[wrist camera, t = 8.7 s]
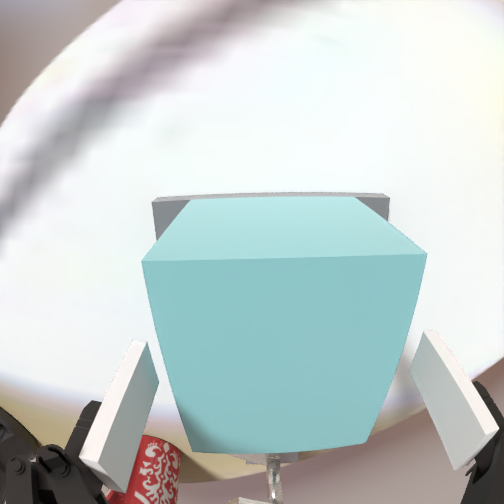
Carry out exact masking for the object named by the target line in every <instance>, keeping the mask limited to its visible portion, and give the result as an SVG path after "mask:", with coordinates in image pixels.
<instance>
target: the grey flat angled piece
mask: <svg viewBox="0 0 504 504" xmlns="http://www.w3.org/2000/svg"><path fill="white" fill-rule="evenodd" d="M228 455H231V456H234V457H237V458H240V459H244V460H247V461H251V462H254V463H258V464H262V465H265V466H267V492H268V503H266V502H260V501H255V500H249V499H245V498H240V497H238V498H236V499H233V500H231V501H229V502H228V504H283V502H282V486H281V470H280V453H265V454H228Z"/></svg>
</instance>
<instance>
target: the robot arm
mask: <svg viewBox="0 0 504 504" xmlns="http://www.w3.org/2000/svg"><path fill="white" fill-rule="evenodd" d="M409 373H410V375H411V377H412V379H413V381H414V383H415V385H416V387H417V389H418V391H419V393H420V395H421V397H422V399H423V401H424V403H425V405H426V407H427V409H428V411H429V414H430V416H431V418H432V420H433V422H434V424H435V426H436V429H437V431H438V433H439V435H440V438H441V440H442V442H443V445H444V447H445V449H446V452H447V454H448V457H449V459H450V461H451V464H452V466H453V469H454V470H457V469H459V468H462V467H464V466H467V465H468V464H469V463H470V462H471V461H472V460H473V459H474V458H475V460H476V463H475V464H474V465H473V466H472V467H471V468H470V470H469V471H467V473H466V476H467V475H469V473H471V472H472V473H471V476H470V480H469V482H468V485H467V488H466V491H465V493H464V496H463V499H462V501H461V504H504V418H503V416H502V414H501V412H500V411H499V409H498V407H497V406H496V404H495V403H494V401H493V399H492V398H491V397H490V395H489V393H488V392H487V390H486V388H485V387H484V386H482V385H481V384H480V383H479V382H478V381H475V382H471V380H470V379H469V377H468V376H467V374H466V373H465V371H464V370H463V368H462V367H461V365H460V364H459V362H458V361H457V359H456V358H455V356H454V355H453V353H452V352H451V350H450V349H449V348H448V346H447V345H446V343H445V342H444V340H443V339H442V338H441V336H440V335H439V333H438V332H437V331H436V330H430V331H423V334H422V337H421V340H420V343H419V346H418V349H417V352H416V354H415V357H414V360H413V362H412V365H411V368H410V370H409ZM158 384H159V380H158V377H157V374H156V371H155V367H154V364H153V361H152V357H151V354H150V351H149V347H148V343H147V342H146V341H132V342H131V344H130V346H129V348H128V350H127V352H126V354H125V356H124V358H123V360H122V362H121V364H120V366H119V368H118V370H117V372H116V374H115V376H114V378H113V380H112V383H111V385H110V387H109V389H108V391H107V393H106V395H105V398H104V400H103V402H98V401H93V400H92V401H91V402H90V403H89V404H88V405H87V406H86V407H85V408H84V409H83V411H82V413H81V415H80V417H79V418H80V419H78V421H77V424H76V427H75V428H74V430H73V432H72V434H71V436H70V439H69V441H68V443H67V445H66V447H65V450H63V449H62V448H61V447H59V446H58V445H54V444H50V445H46V446H44V447H42V448H41V449H40V450H39V446H38V444H37V442H36V441H35V439H34V438H33V437H32V436H31V435H30V433H29V432H28V431H27V430H26V429H25V428H24V427H23V426H22V425H21V424H19V423H18V422H17V421H16V420H15V419H14V418H13V417H11V416H10V415H9V414H8V413H7V412H5V411H4V410H3V409H1V408H0V504H5V501H6V504H109V503H108V501H107V499H106V497H105V495H104V493H103V492H102V491H101V488H102V485H103V484H104V485H105V486H106V487H107V488H108V489H110V490H114V491H118V492H122V493H126V490H127V487H128V483H129V479H130V476H131V472H132V469H133V465H134V462H135V458H136V455H137V452H138V448H139V445H140V441H141V438H142V435H143V431H144V428H145V425H146V422H147V419H148V415H149V412H150V409H151V406H152V403H153V400H154V396H155V393H156V390H157V387H158ZM38 450H39V451H38ZM36 455H37V456H36ZM35 457H36V462H31V461H30V460H33V459H34V458H35Z"/></svg>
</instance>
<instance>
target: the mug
mask: <svg viewBox="0 0 504 504" xmlns="http://www.w3.org/2000/svg"><path fill="white" fill-rule="evenodd" d="M180 463H181V454H180V452H179V450H178V449H177V448H176V447H174V446H173V445H171V444H170V443H168V442H166V441H164V440H161V439H158V438H155V437H151V436H145V435H142V438H141V441H140V445H139V448H138V452H137V455H136V458H135V462H134V465H133V469H132V472H131V476H130V479H129V483H128V487H127V490H126V493H122V492H118V491H114V490H110V489H108V492H107V495H106V499H107V501H108V503H109V504H177V496H178V483H179V472H180Z"/></svg>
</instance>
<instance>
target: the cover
mask: <svg viewBox="0 0 504 504" xmlns="http://www.w3.org/2000/svg"><path fill="white" fill-rule="evenodd" d="M426 258H427V253H426V252H425V251H424V250H422V249H421V248H420V247H419V246H418V245H416V244H415V243H414V242H413V241H411V240H410V239H409V238H408V237H407V236H405V235H404V234H403V233H402V232H400V231H399V230H398V229H396V228H395V227H394V226H393V225H391V224H390V223H389V222H387V221H386V220H385V219H384V218H382V217H381V216H380V215H378V214H377V213H376V212H374V211H373V210H372V209H370V208H369V207H368V206H366V205H365V204H363V203H362V202H361V201H359V200H358V199H357V198H355V197H330V196H293V197H241V198H214V199H192V200H190V201H189V202H188V203H187V205H186V206H185V207H184V208H183V209H182V211H181V212H180V213H179V214H178V215H177V217H176V218H175V219H174V220H173V222H172V223H171V224H170V225H169V227H168V228H167V229H166V230H165V231H164V233H163V234H162V235H161V237H160V238H159V239H158V240H157V242H156V243H155V244H154V245H153V247H152V248H151V249H150V251H149V252H148V253H147V254H146V256H145V257H144V258H143V260H142V261H141V262H142V267H143V273H144V278H145V283H146V288H147V293H148V298H149V302H150V307H151V311H152V316H153V320H154V325H155V329H156V333H157V337H158V341H159V345H160V349H161V353H162V356H163V360H164V364H165V367H166V371H167V375H168V378H169V382H170V385H171V388H172V392H173V395H174V398H175V401H176V405H177V408H178V411H179V414H180V417H181V420H182V423H183V426H184V429H185V432H186V435H187V437H188V440H189V443H190V446H191V449H192V451H193V452H202V453H223V454H265V453H287V452H300V451H311V450H321V449H329V448H337V447H344V446H350V445H356V444H362V443H366V441H367V438H368V437H369V434H370V432H371V430H372V428H373V426H374V423H375V421H376V419H377V417H378V414H379V412H380V410H381V407H382V405H383V402H384V400H385V397H386V395H387V392H388V390H389V387H390V385H391V382H392V379H393V377H394V374H395V371H396V368H397V365H398V363H399V360H400V357H401V354H402V351H403V348H404V344H405V341H406V338H407V335H408V331H409V328H410V325H411V321H412V318H413V314H414V310H415V306H416V303H417V299H418V295H419V290H420V286H421V282H422V277H423V273H424V268H425V263H426Z"/></svg>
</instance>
